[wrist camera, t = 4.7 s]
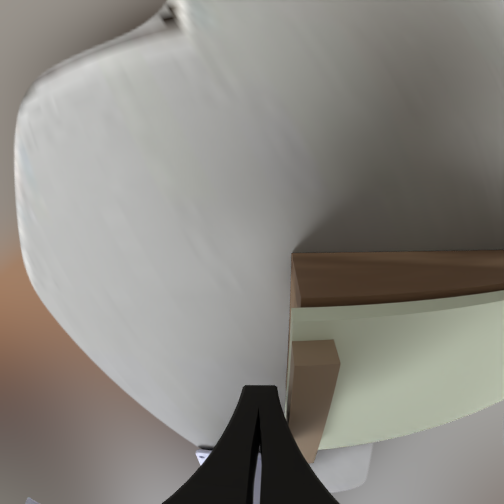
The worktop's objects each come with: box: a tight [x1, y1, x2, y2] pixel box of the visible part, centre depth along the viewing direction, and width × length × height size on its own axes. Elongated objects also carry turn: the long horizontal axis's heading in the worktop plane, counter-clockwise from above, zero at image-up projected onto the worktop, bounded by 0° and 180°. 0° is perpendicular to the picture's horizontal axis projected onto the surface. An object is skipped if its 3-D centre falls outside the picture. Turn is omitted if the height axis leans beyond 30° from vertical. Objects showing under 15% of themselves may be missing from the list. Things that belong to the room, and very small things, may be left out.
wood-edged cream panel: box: [284, 290, 504, 463], centre depth 10 cm, size 9×16×2 cm, turn 92°
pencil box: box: [286, 250, 504, 390], centre depth 12 cm, size 9×17×5 cm, turn 92°
